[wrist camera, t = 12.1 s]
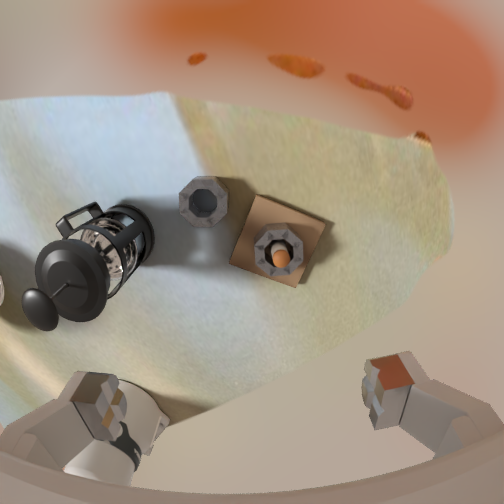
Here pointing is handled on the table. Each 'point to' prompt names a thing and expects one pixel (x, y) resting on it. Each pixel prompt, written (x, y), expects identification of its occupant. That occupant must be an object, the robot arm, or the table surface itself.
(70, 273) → the french press
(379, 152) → the table surface
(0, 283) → the decorative vase
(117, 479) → the robot arm
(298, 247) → the grey octagonal nut
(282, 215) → the keeper
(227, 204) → the grey octagonal ring
